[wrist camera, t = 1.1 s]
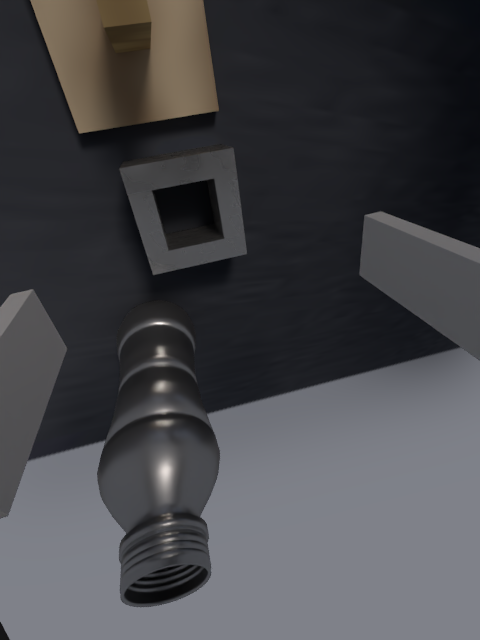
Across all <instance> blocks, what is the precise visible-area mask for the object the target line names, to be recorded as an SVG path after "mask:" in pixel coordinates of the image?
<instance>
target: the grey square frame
mask: <svg viewBox="0 0 480 640" xmlns="http://www.w3.org/2000/svg"><path fill="white" fill-rule="evenodd" d="M119 170H120V173H121V176H122V179H123V182H124V186H125V189H126V192H127V195H128V198H129V201H130V204H131V207H132V210H133V214H134V217H135V220H136V223H137V226H138V229H139V232H140V235H141V238H142V242H143V245H144V248H145V251H146V254H147V257H148V260H149V263H150V266H151V270H152V273H153V275H156V274H161V273H165V272H169V271H174V270H178V269H183V268H187V267H191V266H196V265H200V264H205V263H209V262H214V261H218V260H222V259H227V258H231V257H236V256H240V255H244V254H247V250H246V242H245V234H244V226H243V219H242V211H241V203H240V195H239V187H238V180H237V172H236V164H235V156H234V149H233V148H232V147H229V146H225V145H222V144H219V145H213V146H208V147H202V148H196V149H191V150H185V151H180V152H174V153H168V154H163V155H157V156H151V157H146V158H140V159H134V160H129V161H123V163H122V165H121V166H120V168H119ZM203 180H207V185H208V191H209V196H210V202H211V207H212V213H213V218H214V224H211V225H206V226H201V227H196V228H192V229H187V230H182V231H177V232H173V233H168V234H166V233H165V229H164V225H163V222H162V218H161V214H160V211H159V207H158V203H157V200H156V196H155V192H154V190H156V189H162V188H167V187H172V186H177V185H183V184H188V183H193V182H198V181H203Z"/></svg>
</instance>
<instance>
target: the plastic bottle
mask: <svg viewBox="0 0 480 640" xmlns="http://www.w3.org/2000/svg"><path fill="white" fill-rule="evenodd" d="M195 346H196V334H195V328H194V325H193V323H192V321H191V319H190V318H189V316H188V314H187V313H186V312H185V311H184V310H183V309H182V308H181V307H179V306H178V305H176V304H174V303H171V302H167V301H149V302H146V303H142V304H140V305H138V306H136V307H135V308H133V309H132V310H131V311H130V312H129V313H128V314H127V315H126V316H125V318H124V320H123V322H122V324H121V326H120V328H119V330H118V334H117V353H118V357H119V361H120V385H119V390H118V397H117V401H116V406H115V412H114V416H113V419H112V423H111V426H110V429H109V432H108V435H107V439H106V442H105V445H104V448H103V451H102V454H101V458H100V463H99V467H98V472H97V475H98V484H99V490H100V495H101V497H102V500H103V502H104V504H105V505H106V507H107V509H108V510H109V512H110V513H111V515H112V517H113V518H114V519H115V520H116V521H117V523H118V524H119V525H120V526H121V527H122V529H124V531H125V532H126V535H125V536H124V538H123V539H122V540H121V543H120V549H119V561H120V563H121V578H120V594H121V600H122V602H123V603H125V604H126V605H129V606H134V607H151V606H157V605H162V604H166V603H170V602H173V601H176V600H178V599H181V598H183V597H186V596H188V595H190V594H191V593H193V592H195V591H197V590H198V589H199V588H201V587H202V586H203V585H204V584H205V583H206V582H207V581H208V580H209V578H210V576H211V563H210V556H209V550H208V544H207V542H208V539H209V536H208V529H207V524H206V522H205V521H204V520H203V519H202V518H200V515H201V513H202V511H203V509H204V507H205V505H206V503H207V501H208V499H209V497H210V495H211V492H212V490H213V487H214V484H215V482H216V479H217V475H218V470H219V460H220V451H219V447H218V444H217V440H216V437H215V434H214V432H213V430H212V427H211V424H210V422H209V419H208V416H207V414H206V411H205V409H204V406H203V403H202V400H201V396H200V392H199V388H198V385H197V380H196V376H195V361H194V352H195Z"/></svg>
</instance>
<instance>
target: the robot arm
mask: <svg viewBox="0 0 480 640" xmlns="http://www.w3.org/2000/svg"><path fill="white" fill-rule="evenodd" d="M359 275H360V276H361V277H363V278H364V279H366V280H367V281H368V282H370V283H371V284H373V285H374V286H375V287H377V288H378V289H380V290H381V291H382V292H384V293H385V294H387V295H388V296H390V297H391V298H392V299H394V300H395V301H397V302H398V303H399V304H401V305H402V306H404V307H405V308H406V309H408V310H409V311H411V312H412V313H413V314H415V315H416V316H418V317H419V318H421V319H422V320H423V321H425V322H426V323H428V324H429V325H430V326H432V327H433V328H435V329H436V330H437V331H439V332H440V333H442V334H443V335H444V336H446V337H447V338H449V339H450V340H451V341H453V342H454V343H456V344H457V345H459V346H460V347H461V348H463V349H464V350H466V351H467V352H468V353H470V354H471V355H473V356H474V357H476V358H477V359H478V360H480V248H477V247H475V246H472V245H469V244H467V243H464V242H461V241H459V240H456V239H453V238H451V237H448V236H445V235H443V234H440V233H437V232H435V231H432V230H429V229H427V228H424V227H421V226H419V225H416V224H413V223H411V222H408V221H405V220H402V219H400V218H397V217H394V216H392V215H389V214H386V213H384V212H377V213H372V214H368V215H364V227H363V238H362V250H361V262H360V273H359ZM66 350H67V347H66V346H65V344H64V342H63V340H62V339H61V337H60V335H59V333H58V332H57V330H56V328H55V326H54V325H53V323H52V321H51V320H50V318H49V316H48V314H47V313H46V311H45V309H44V307H43V306H42V304H41V302H40V300H39V299H38V297H37V295H36V293H35V292H34V290H28V291H24V292H19V293H15V294H11V295H10V296H9V297H8V298H7V300H6V301H5V302H4V303H3V305H2V306H1V307H0V518H3V517H6V516H8V514H9V512H10V509H11V506H12V503H13V500H14V497H15V495H16V492H17V489H18V486H19V483H20V480H21V477H22V474H23V472H24V469H25V466H26V463H27V461H28V458H29V455H30V452H31V449H32V446H33V444H34V441H35V438H36V435H37V432H38V429H39V427H40V424H41V421H42V418H43V415H44V413H45V410H46V407H47V404H48V401H49V398H50V396H51V393H52V390H53V387H54V384H55V381H56V379H57V376H58V373H59V370H60V367H61V364H62V362H63V359H64V356H65V353H66ZM0 640H9V637H8V636H7V634H6V632H5V630H4V628H3V626H2V624H1V622H0Z"/></svg>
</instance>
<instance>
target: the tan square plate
mask: <svg viewBox="0 0 480 640" xmlns="http://www.w3.org/2000/svg"><path fill="white" fill-rule="evenodd" d="M30 1H31V4H32V6H33V9H34V12H35V15H36V17H37V20H38V23H39V25H40V28H41V31H42V34H43V36H44V39H45V42H46V45H47V47H48V50H49V53H50V56H51V58H52V61H53V64H54V66H55V69H56V72H57V75H58V77H59V80H60V83H61V86H62V88H63V91H64V94H65V97H66V99H67V102H68V105H69V107H70V110H71V113H72V116H73V118H74V121H75V124H76V127H77V129H78V132H79V133H86V132H92V131H98V130H104V129H110V128H116V127H122V126H128V125H135V124H141V123H147V122H153V121H159V120H165V119H171V118H178V117H184V116H190V115H196V114H202V113H208V112H214V111H219V108H218V101H217V94H216V87H215V81H214V74H213V67H212V60H211V53H210V46H209V39H208V32H207V25H206V18H205V11H204V4H203V0H30Z"/></svg>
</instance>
